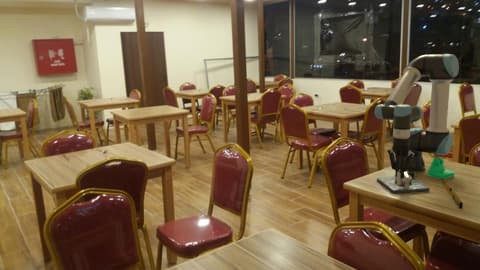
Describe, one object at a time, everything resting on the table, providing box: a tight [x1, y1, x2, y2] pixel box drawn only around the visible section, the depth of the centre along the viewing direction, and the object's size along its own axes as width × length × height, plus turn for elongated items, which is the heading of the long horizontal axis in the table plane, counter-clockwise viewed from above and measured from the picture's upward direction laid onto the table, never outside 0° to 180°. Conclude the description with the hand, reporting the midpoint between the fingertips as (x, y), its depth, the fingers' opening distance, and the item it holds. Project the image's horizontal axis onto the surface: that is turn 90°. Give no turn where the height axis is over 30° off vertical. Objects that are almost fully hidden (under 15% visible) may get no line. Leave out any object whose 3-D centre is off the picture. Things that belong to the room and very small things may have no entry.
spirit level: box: [441, 178, 464, 209], centre depth 185 cm, size 33×1×3 cm, turn 165°
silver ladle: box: [395, 171, 412, 189], centre depth 195 cm, size 17×8×6 cm, turn 166°
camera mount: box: [426, 156, 455, 180], centre depth 210 cm, size 12×8×10 cm, turn 115°
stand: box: [376, 171, 431, 195], centre depth 199 cm, size 19×20×5 cm
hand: (399, 184), depth 192 cm, fingers closed
